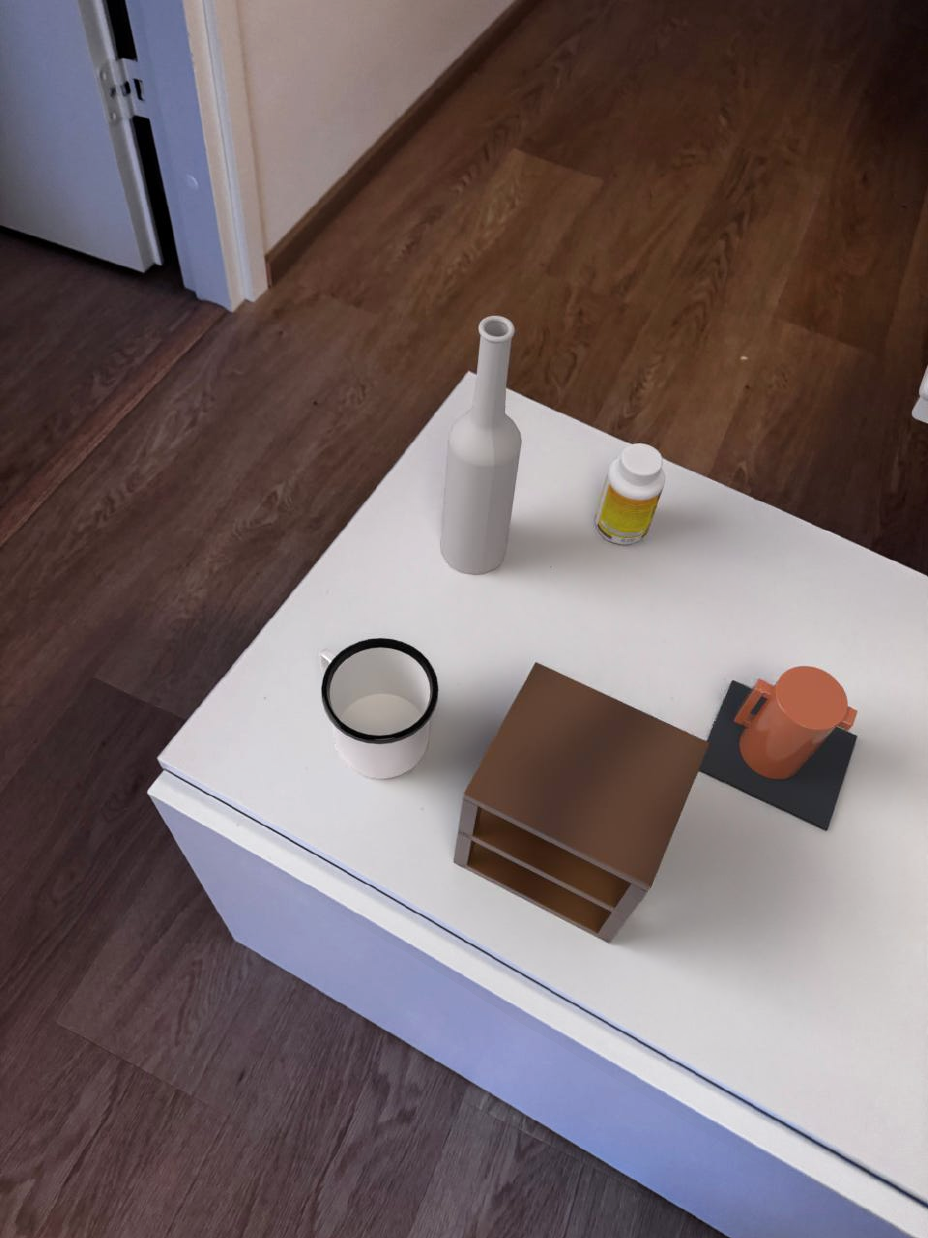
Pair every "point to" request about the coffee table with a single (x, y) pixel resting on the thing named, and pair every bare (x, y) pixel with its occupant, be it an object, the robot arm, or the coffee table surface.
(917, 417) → the robot arm
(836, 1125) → the coffee table surface
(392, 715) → the mug
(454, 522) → the bottle
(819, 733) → the orange two-handled pot
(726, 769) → the mat
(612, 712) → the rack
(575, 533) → the coffee table surface
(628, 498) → the supplement bottle
